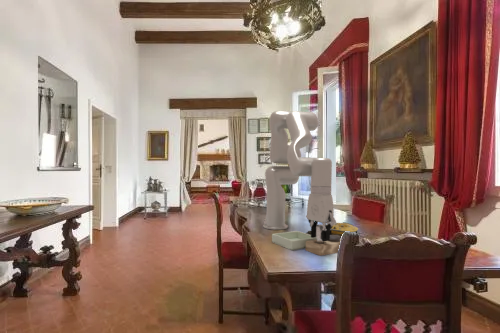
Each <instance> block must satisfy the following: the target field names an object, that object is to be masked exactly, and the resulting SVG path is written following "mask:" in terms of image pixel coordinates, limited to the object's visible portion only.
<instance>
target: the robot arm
mask: <svg viewBox="0 0 500 333" xmlns="http://www.w3.org/2000/svg"><path fill="white" fill-rule="evenodd" d="M268 123H269V129H270V137H271V139H270V146H269V147H270V148H269V161H271V163H273V164H279V165H271V166H268V167H267V168H266V169H265V171H264V172H265V173H264V175H265V182H266V183H265V185H266V216H265V218H263V220H264V221H265V223H264V224H263V229H267V230H275V231H276V230H277V231H278V230H287V229H288V228H289V225H288V224H286V191H285V190H284V188H283V187H282V185H295V184H297V183H298V182H299V178H300V177H310V193H309V196H308V199H307V206H306V207H307V208H306V216H305V218H306V219H307V221H308V223H309V227H310V231H311V238H315V237H316V225H318V224H319V223H321V225H323V229H324V230H322V241H329V240H330V230H331V228H332V227H333V226H334V225H335V224H336V223H337V220H336V219H335V217H334V216H335V215H334V214H335V213H334V210H335V209H334V200H333V195H332V180H333V179H332V175H333V174H332V172H333V165H332V164H333V162H332V159H331V158H328V157H302V152H301V149H303V148H305V147H307V146H308V145H310V143H311V142H312V139H313V136H312V134H311V132H313V131H315V130H317V128H318V127H319V126H318V125H319V117H318V116H317V114H316V113H314V112H313V111H301V110H300V111H299V110H295V111H292V110H291V111H290V110H275V111H273V112H271V114H270V117H269V122H268ZM286 129H287V130H286ZM287 131H288V132H289V133H287ZM289 136H290V138H291V143H290V144H289ZM280 164H283V165H280ZM284 164H285V165H284ZM287 164H288V165H287ZM326 224H327V226H326Z"/></svg>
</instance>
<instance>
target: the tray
mask: <svg viewBox="0 0 500 333" xmlns="http://www.w3.org/2000/svg"><path fill="white" fill-rule="evenodd" d="M306 233H307V232H302V231H299V230H293V231H284V232H277V233H271V243H272V244H275V245H278V246H280V247H283V248H286V249H288V250H289V251H297V250H303V249H306V241H310V240H316V237H315V238H311V235H309V234H306Z"/></svg>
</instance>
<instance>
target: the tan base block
mask: <svg viewBox="0 0 500 333" xmlns="http://www.w3.org/2000/svg"><path fill="white" fill-rule="evenodd" d="M341 240H342V239H341V238H340V236H338V235H330V240H329V241H324V244H317V243H316V240H310V241H306V248H305V251H307V252H309V253H311V254H315V255H317V256H325V255H332V254H337V252H338V249H339V245H340V241H341Z"/></svg>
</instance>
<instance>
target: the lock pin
mask: <svg viewBox="0 0 500 333" xmlns="http://www.w3.org/2000/svg"><path fill="white" fill-rule="evenodd" d="M322 230H324V229H323V224H320V223H318V224H317V225H316V243H317V244H324V241H322Z"/></svg>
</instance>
